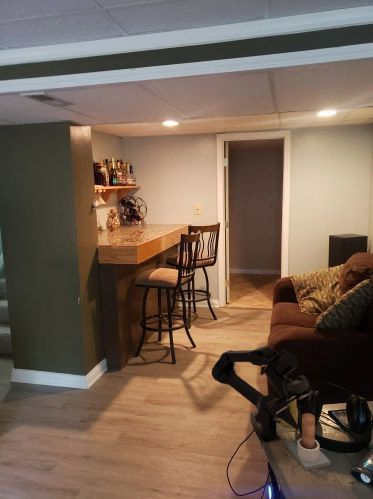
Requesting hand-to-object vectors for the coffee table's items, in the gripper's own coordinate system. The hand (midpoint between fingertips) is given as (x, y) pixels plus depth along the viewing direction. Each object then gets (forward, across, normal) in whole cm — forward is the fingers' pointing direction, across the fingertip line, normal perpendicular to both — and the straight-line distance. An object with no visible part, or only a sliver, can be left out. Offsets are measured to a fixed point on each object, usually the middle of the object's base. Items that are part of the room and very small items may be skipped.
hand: (306, 423), depth 128 cm
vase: (-2, +12, +20) cm, 23 cm away
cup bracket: (+8, +1, +9) cm, 12 cm away
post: (+8, 0, +7) cm, 10 cm away
